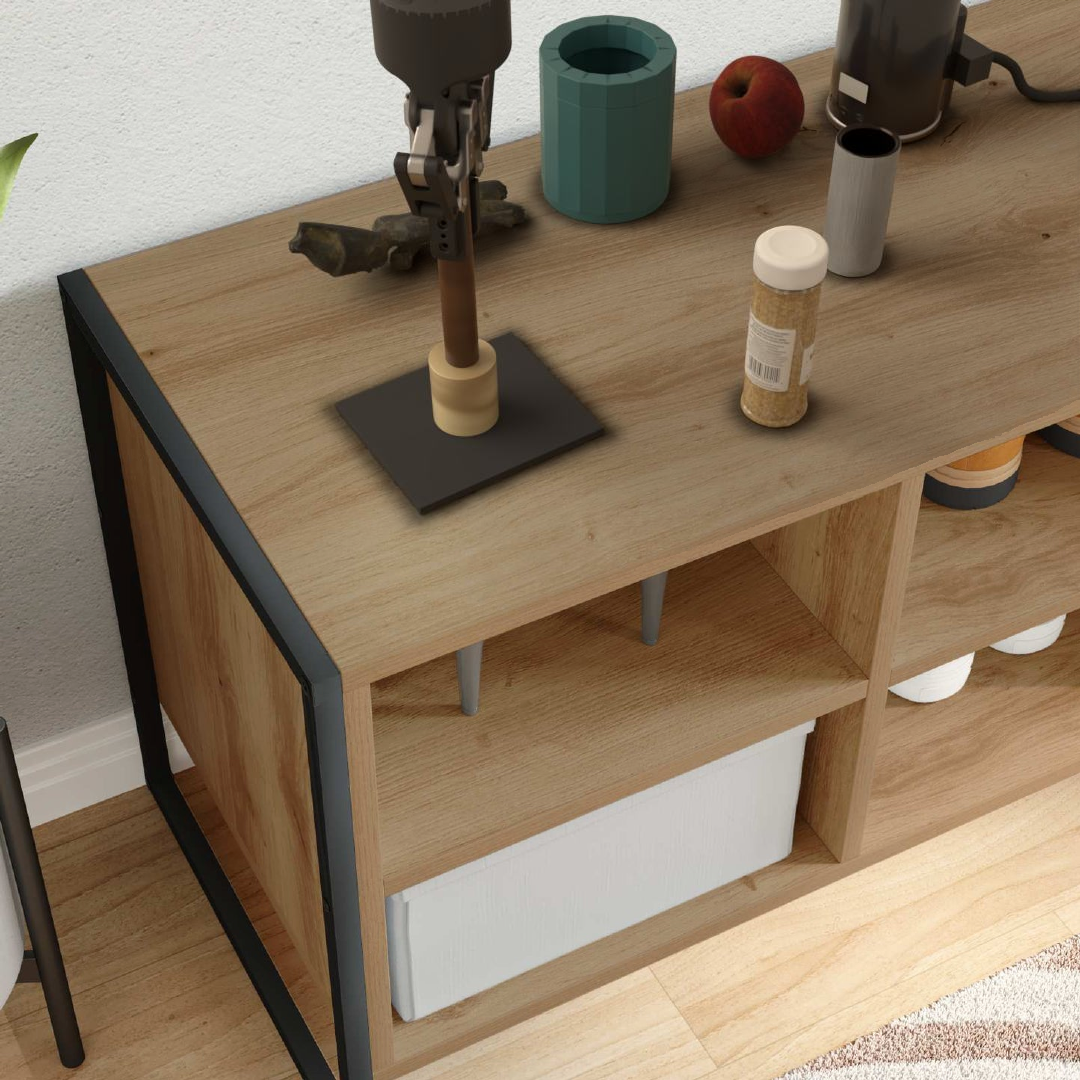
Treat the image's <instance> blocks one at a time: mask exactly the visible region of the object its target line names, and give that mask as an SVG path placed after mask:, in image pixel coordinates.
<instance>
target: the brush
mask: <svg viewBox="0 0 1080 1080" xmlns="http://www.w3.org/2000/svg"><path fill="white" fill-rule="evenodd" d="M450 181H451V184H452V187H453V181H452V179H451V178H450ZM466 185H467V198H468V203H467V221H468V238H469V253H468V255H467V257H466V259H465V260H464V261H463V262H456V261H448V260H440V259H437V270H438V283H439V293H440V308H441V320H442V333H443V334H442V335H443V340H441V341H440V342H439V343H437V344H436V345H434V346H433V348H431V350H430V352H429V354H428V365H429V371H430V382H431V393H432V404H433V416H434V421H435V423H436V424H437V426H438V427H439V428H440V429H441V430H443V431H444V432H446V433H448V434H451V435H455V436H462V437H467V436H475V435H479V434H481V433H484V432H486V431H488V430H489V429H490V428H492V427H493V426H494V425H495V423H496V422H497V420H498V417H499V402H498V381H497V361H496V353H495V350H494V349H493V347H492V346H491V345H490V344H489V343H487V341H486V340H485V339H482V338H479V328H478V326H479V325H478V312H477V293H476V277H475V261H474V243H473V235H472V224H471V207H470V190H469V175H468V177H467V178H466Z"/></svg>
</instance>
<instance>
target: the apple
mask: <svg viewBox="0 0 1080 1080" xmlns="http://www.w3.org/2000/svg"><path fill="white" fill-rule="evenodd" d="M804 97H805V96H804V94H803V91H802V89H801V86H800V84H799V81H798V79H797V78H796V76H795V75H794V73H793V72H792V71H791V70H790V69H789V68H788V67H787V66H785V64H783V63H781V62H780V61H777V60H775V59H773V58H771V57H767V56H762V55H756V54H755V55H752V54H751V55H744V56H740V57H738V58H735V59H734V60H732V61H731V62H730V63H728V64H727V65H726V66H725V67H724V69H723V70H722V71H721V72H720V74H719V75H718V76H717V78H716V79H715V80H714V82H713V85H712V87H711V90H710V95H709V101H708V110H709V116H710V120H711V124H712V127H713V129H714V132H715V134H716V135H717V136H718V138H719V140H720V141H721V142H722V144H723V145H724V146H725V147H726V148H727V149H728V150H729V151H731V152H733V153H734V154H736V155H739V156H741V157H744V158H750V159H752V158H753V159H754V158H764V157H767V156H771V155H772V154H774V153H775V154H776V153H777V152H779V151H781V150H782V149H784V148H786V146H788V145H789V144H790V143H791V142H792V141H793V140H794V139H795V138H796V136H797V135H798V133H799V132H800V129H801V127H802V125H803V123H804V120H805V119H804V117H805V112H806V111H805V106H806V105H805V98H804Z"/></svg>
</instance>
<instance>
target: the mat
mask: <svg viewBox="0 0 1080 1080" xmlns="http://www.w3.org/2000/svg"><path fill="white" fill-rule="evenodd" d="M486 342H487V343H489V344H490V345H491V346H492V347H493V349H494V350H495V353H496V361H497V381H498V402H499V417H498V420H497V422H496V423H495V425H494V426H493V427H492V428H490V429H489V430H488V431H486V432H484V433H481V434H479V435H475V436H467V437H462V436H455V435H451V434H448V433H446V432H444V431H443V430H441V429H440V428H439V427H438V426H437V424H436V423H435V421H434V416H433V404H432V393H431V382H430V371H429V364H428V365H426V366H423V367H420V368H418V369H416V370H413V371H411V372H410V371H409V372H408V373H406V374H403V375H401V376H398V377H396V378H393V379H391V380H388V381H386V382H383V383H381V384H379V385H376V386H374V387H371V388H368V389H366V390H364V391H361V392H358V393H356V394H354V395H351V396H349V397H346V398H344V399H342V400H339V401H336V402H334V408H335V411H336V412H337V413H338V414H339V415H340V416H341V418H342V419H343V421H344V422H345V423H346V424H347V425H348V426H349V428H350V429H351V430H352V432H353V433H354V434H355V435H356V436H357V438H358V439H359V440H360V441H361V442H362V444H363V445H364V447H366V449H367V450H368V451H369V452H370V454H371V455H372V456H373V458H374V459H375V460H376V461H377V463H378V464H379V465H380V467H381V468H382V469H383V470H384V471H385V473H386V474H387V475H388V476H389V478H390V479H391V481H393V482H394V484H395V485H396V487H398V489H399V490H400V491H401V493H402V494H403V495H404V496H405V497H406V499H407V500H408V501H409V502H410V504H411V505H412V506H413V507H414V509H415V510H416V511H417V512H418V514H419V515H420V516H421V515H423V514H426V513H429V512H431V511H433V510H436V509H437V508H439V507H442V506H445V505H447V504H449V503H451V502H454V501H456V500H457V499H460V498H462V497H464V496H466V495H469V494H471V493H474V492H475V491H478V490H481V489H483V488H484V487H487V486H489V485H492V484H494V483H497V482H498V481H501V480H504V479H505V478H507V477H510V476H512V475H514V474H517V473H519V472H521V471H524V470H525V469H527V468H530V467H532V466H534V465H537V464H539V463H541V462H543V461H545V460H548V459H550V458H552V457H554V456H557V455H560V454H562V453H564V452H566V451H568V450H570V449H574V448H575V447H577V446H580V445H581V444H582V445H583V444H584V443H586V442H589V441H591V440H593V439H596V438H598V437H600V436H603V435H605V427H604V426H603V425H602V424H601V423H600V421H599V420H598V419H597V418H596V417H595V416H593V414H592V413H591V412H590V411H589V410H588V409H587V408H586V407H585V406H584V405H583V404H582V403H581V402H580V401H579V400H578V399H577V398H576V397H575V396H574V395H573V394H572V393H571V392H570V391H569V390H568V389H567V387H566V386H565V385H563V383H562V382H561V381H559V379H558V378H557V377H556V376H555V375H554V373H552V372H551V371H550V370H549V369H548V368H547V367H546V366H545V364H543V363H542V362H541V361H540V360H539V358H537V357H536V356H535V355H534V354H533V352H532V351H531V350H529V348H528V347H527V346H526V345H525V344H524V343H523V342H522V341H521V340H520V339H519V338H518V337H517V336H516V335H515V334H514V333H513V332H512V331H508V332H507V333H505V334H502V335H500V336H497V337H494V338H492V339H489V340H487V341H486Z"/></svg>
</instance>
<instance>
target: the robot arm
mask: <svg viewBox="0 0 1080 1080" xmlns="http://www.w3.org/2000/svg"><path fill="white" fill-rule="evenodd" d="M511 2H512V1H511V0H369V7H370V16H371V17H370V18H371V27H372V36H373V47H374V53H375V56H376V59H377V61H378V62H379V64H380V66H382V67H383V68H384V70H386V71H387V73H389V74H390V75H393V76H394V77H396V78H397V79H399V80H400V81H401V82H402V83H404V85H406V86H407V88H408V90H409V91H408V92H406V93H405V95H404V99H403V117H404V124H405V126H406V127H407V128H408V133H409V134H408V135H409V151H410V152H403V151H397V152H396V154H395V156H394V159H393V162H392V164H393V171H394V172H393V173H394V174H395V177H396V180H397V181H398V184H399V187H400V189H401V190H402V193H403V195H404V198H405V200H406V203H407V205H408V207H409V210H410V212H412V215H413V216H419V217H427V218H428V224H429V236H430V242H429V244H430V245H429V246H430V248H429V249H430V254H431V256H432V257H433V258H434V259H437V260H438V259H440V260H448V261H456V262H463V261H464V260H465V259H466V257H467V255H468V253H469V238H468V221H467V203H468V198H467V185H466V178H467V177H468V175H469V190H470V207H471V224H472V236H475V235H476V234H478V233H479V230H480V228H481V227H480V225H481V217H480V198H479V182H480V179H479V178H480V177H481V176H482V173H483V171H484V168H485V163H484V160H483V159H484V158H483V152H484V153H487V152H488V150H489V148H490V147H491V143H492V138H491V129H492V128H491V127H492V116H493V103H494V91H495V80H496V79H495V78H496V71H497V70H498V69H500V68H501V67H502V66H503V64H504V63H506V61H507V60H508V58H509V56H510V55H511V54H510V53H511V51H512V46H513V34H512V3H511ZM839 6H840V7H839V13H838V23H837V29H836V37H835V45H834V52H833V61H832V67H831V76H830V84H829V92H828V96H827V99H826V105H825V114H826V117H827V120H828V121H829V122H830V124H831V125H832V126H833V127H834V128H835V129H837V130H838V131H840V130H841V129H843V128H844V127H846V126H849V125H852V124H856V123H875V124H879V125H883V126H886V127H888V128H890V129H891V130H893V131H894V132H896V133H897V135H898V136H899V137H900V140H901V144H907V143H912V142H915V141H919V140H922V139H924V138H926V137H927V136H929V135H931V134H932V133H933V132H934V131H935V130H936V129H937V128H938V126H939V124H940V121H941V118H943V117H946V116H948V115H949V112H950V108H951V107H950V106H951V101H952V96H953V91H954V86H955V83H957V84H959V85H961V86H962V87H964V88H967V87H970V86H972V85H975V84H977V83H980V82H982V81H985V80H988V79H989V77H990V75H991V74H990V73H991V68H992V63H994V64H996V65H998V66H1001V67H1002V68H1004V69H1005V70H1006V71H1008V72H1009V74H1010V76H1011V78H1012V81H1013V84H1014V86H1015V88H1016V89H1017V91H1018V92H1019V93H1020V95H1022V96H1023V97H1025V98H1028V99H1030V100H1032V101H1036V102H1042V103H1062V102H1063V103H1064V102H1065V103H1066V102H1074V101H1079V100H1080V88H1076V89H1071V90H1065V91H1064V90H1063V91H1048V90H1047V91H1046V90H1041V89H1038V88H1035V87H1033V86H1031V85H1030V84H1029V83H1028V81H1027V80H1026V77H1025V75H1024V72H1023V70H1022V67H1021V66H1020V64H1019V63H1018V62H1017V61H1016V60H1015V59H1014V58H1012V57H1011V56H1008V55H1007V54H1005V53H1002V52H999V51H996V50H992V49H991V48H989V47H988V46H986V45H984V44H983V43H982V42H980V41H978V40H976V39H975V38H973V37H972V36H969V35H968V34H966V33H965V29H966V25H967V18H968V13H969V12H968V8H967V6H966V5H965V4H964V3H962V0H840V5H839ZM450 178H451V179H452V181H453V187H452V184H451V181H450Z"/></svg>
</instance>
